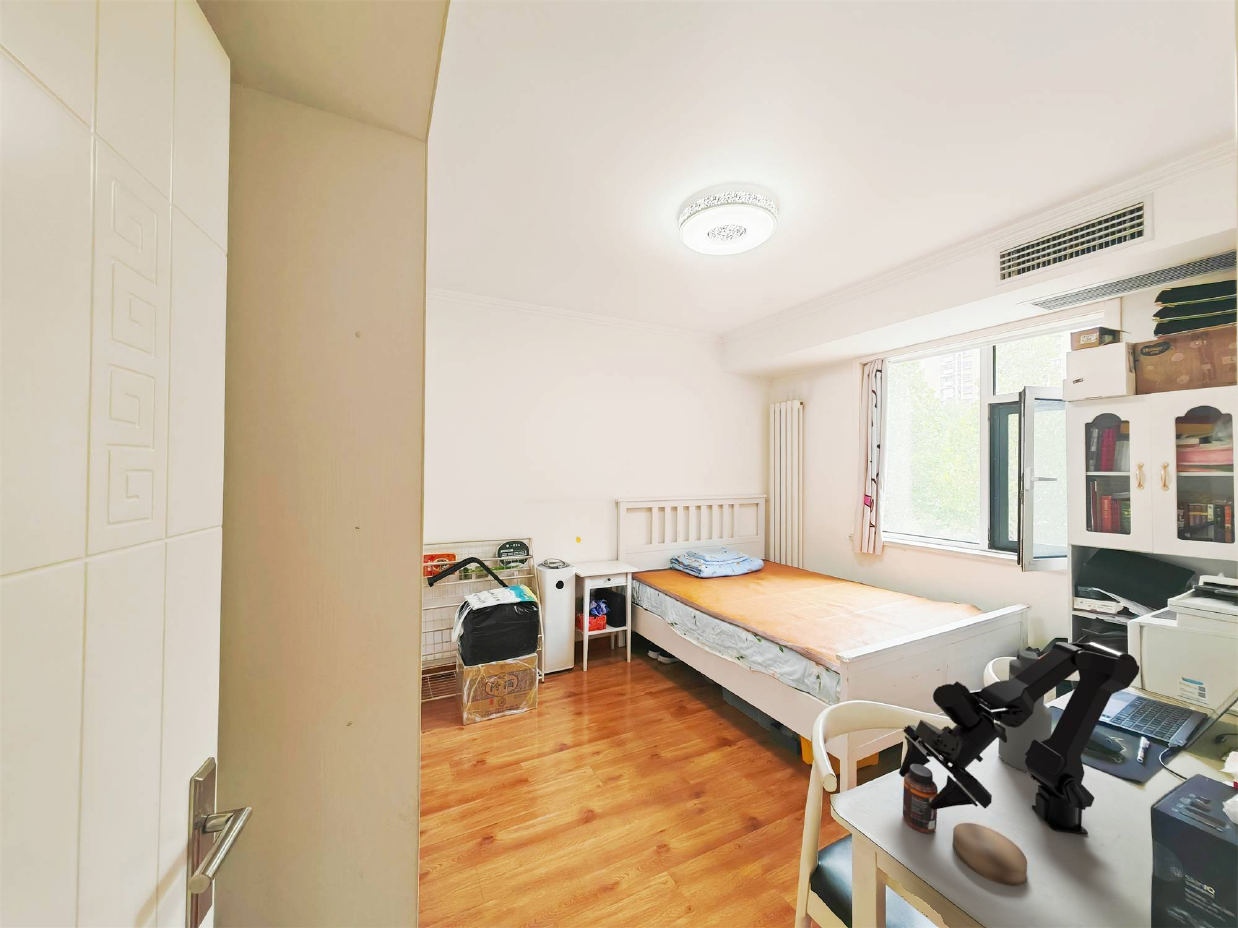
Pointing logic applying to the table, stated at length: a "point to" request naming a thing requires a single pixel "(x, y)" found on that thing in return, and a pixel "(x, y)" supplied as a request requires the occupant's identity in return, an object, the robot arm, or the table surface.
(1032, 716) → the water bottle
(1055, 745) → the robot arm
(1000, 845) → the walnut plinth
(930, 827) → the supplement bottle
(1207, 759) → the table surface
